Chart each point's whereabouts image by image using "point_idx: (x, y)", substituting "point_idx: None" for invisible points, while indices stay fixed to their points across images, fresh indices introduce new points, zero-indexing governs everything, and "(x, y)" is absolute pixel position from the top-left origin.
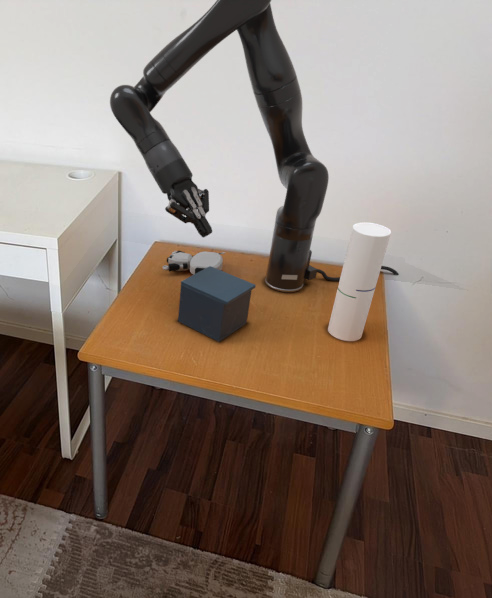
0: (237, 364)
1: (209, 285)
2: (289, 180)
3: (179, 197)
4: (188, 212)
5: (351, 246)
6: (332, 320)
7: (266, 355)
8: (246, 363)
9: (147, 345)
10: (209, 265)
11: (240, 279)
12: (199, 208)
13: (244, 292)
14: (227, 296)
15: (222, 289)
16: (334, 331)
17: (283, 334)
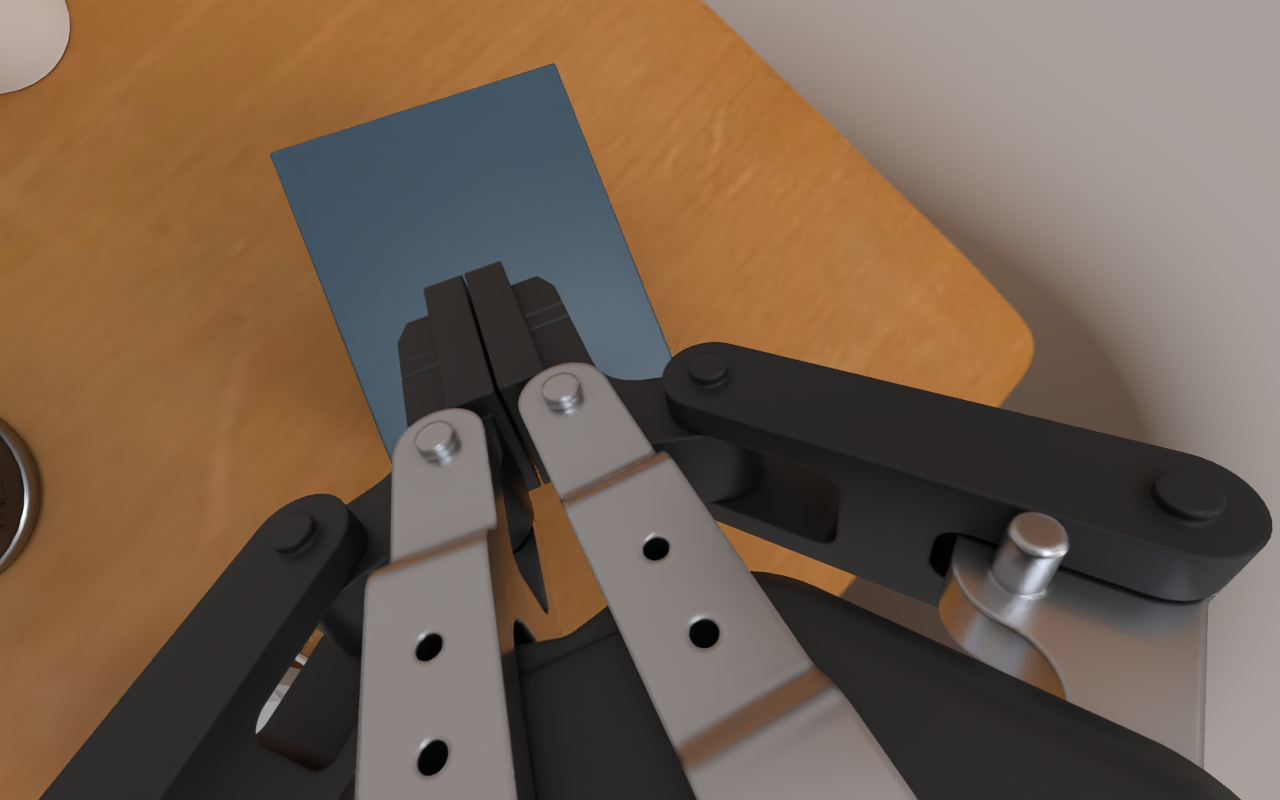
0: (579, 45)
1: (547, 259)
2: None
3: (1021, 735)
4: (775, 407)
5: None
6: (5, 3)
7: (440, 42)
8: (544, 35)
9: (832, 289)
10: (264, 721)
11: (320, 246)
12: (470, 524)
13: (392, 116)
14: (519, 111)
15: (501, 188)
16: (48, 4)
17: (272, 126)
